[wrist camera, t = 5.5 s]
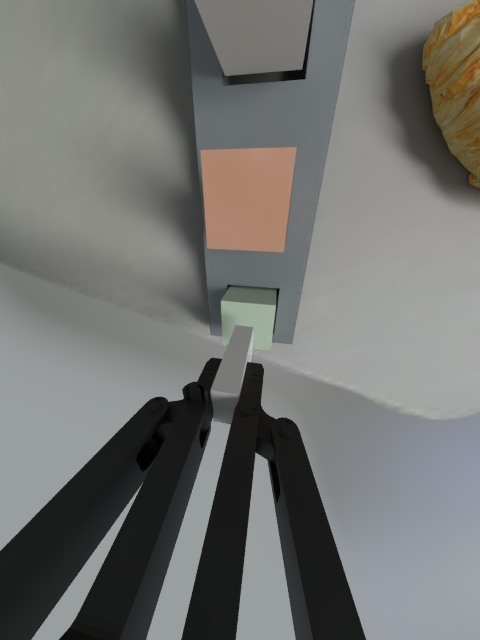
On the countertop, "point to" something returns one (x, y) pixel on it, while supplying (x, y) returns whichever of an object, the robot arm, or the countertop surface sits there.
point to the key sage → (249, 313)
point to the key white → (257, 33)
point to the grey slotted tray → (270, 132)
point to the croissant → (457, 83)
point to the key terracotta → (247, 197)
